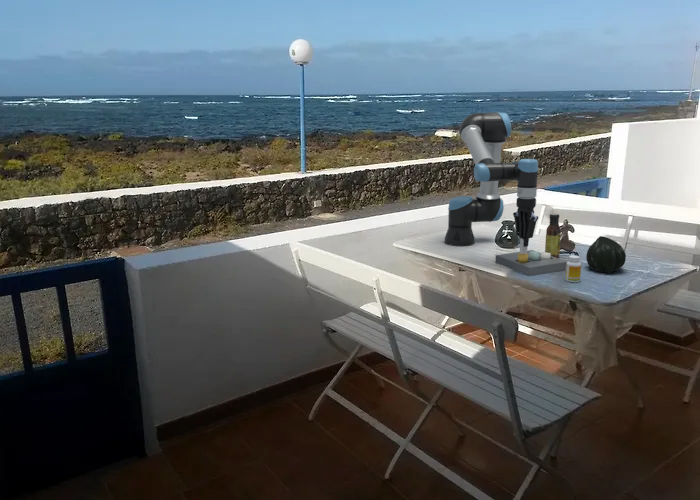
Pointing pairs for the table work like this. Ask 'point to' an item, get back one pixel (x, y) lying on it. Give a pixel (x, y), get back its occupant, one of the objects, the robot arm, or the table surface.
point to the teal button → (534, 256)
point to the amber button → (522, 258)
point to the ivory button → (545, 255)
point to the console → (531, 264)
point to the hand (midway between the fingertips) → (523, 253)
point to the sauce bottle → (553, 236)
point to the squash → (605, 255)
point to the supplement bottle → (573, 269)
